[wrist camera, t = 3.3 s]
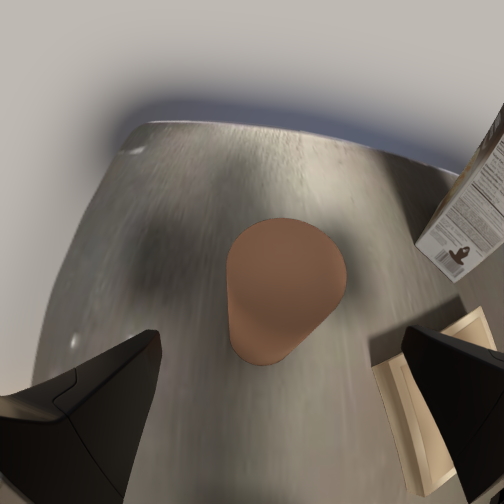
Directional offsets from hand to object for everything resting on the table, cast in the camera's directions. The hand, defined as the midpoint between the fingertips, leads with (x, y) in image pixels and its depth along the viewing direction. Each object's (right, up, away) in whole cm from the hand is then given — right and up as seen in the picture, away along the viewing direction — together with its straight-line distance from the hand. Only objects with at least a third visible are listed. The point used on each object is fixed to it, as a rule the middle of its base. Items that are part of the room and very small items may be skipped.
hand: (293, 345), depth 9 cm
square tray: (+15, -9, +7) cm, 19 cm away
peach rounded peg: (-1, -3, +10) cm, 10 cm away
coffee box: (+20, +4, +16) cm, 26 cm away
